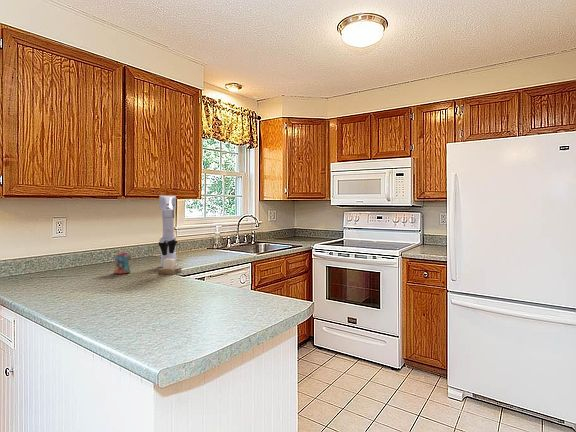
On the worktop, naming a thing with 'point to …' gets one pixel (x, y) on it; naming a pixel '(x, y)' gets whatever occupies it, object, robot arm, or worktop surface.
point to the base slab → (169, 271)
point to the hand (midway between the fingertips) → (168, 254)
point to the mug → (122, 263)
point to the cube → (169, 263)
